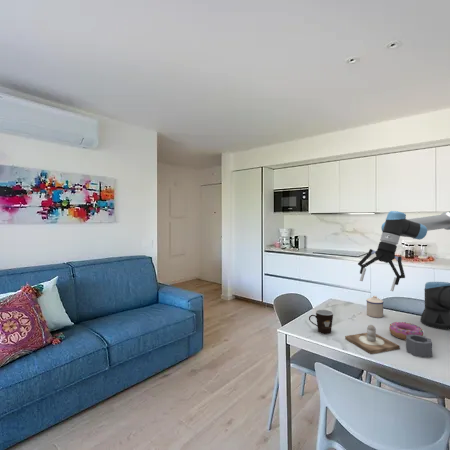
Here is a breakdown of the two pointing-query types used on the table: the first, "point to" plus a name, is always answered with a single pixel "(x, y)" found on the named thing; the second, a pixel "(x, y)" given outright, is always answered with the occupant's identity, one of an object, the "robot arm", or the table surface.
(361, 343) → the post stand
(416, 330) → the donut
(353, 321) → the table surface
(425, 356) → the ring
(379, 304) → the teacup with lid
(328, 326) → the coffee mug
